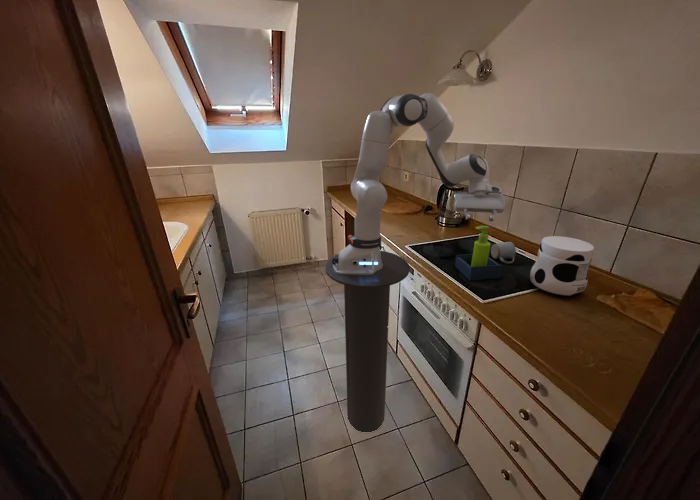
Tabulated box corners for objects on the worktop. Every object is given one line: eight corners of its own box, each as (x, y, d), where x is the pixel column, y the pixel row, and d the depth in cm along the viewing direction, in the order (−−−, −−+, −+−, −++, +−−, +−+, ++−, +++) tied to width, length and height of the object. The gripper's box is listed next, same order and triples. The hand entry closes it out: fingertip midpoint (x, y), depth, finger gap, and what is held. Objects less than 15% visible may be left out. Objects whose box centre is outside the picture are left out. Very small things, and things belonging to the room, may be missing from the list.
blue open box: (469, 280, 117) (471, 267, 115) (454, 266, 129) (456, 254, 127) (500, 278, 119) (502, 265, 117) (482, 264, 131) (484, 252, 129)
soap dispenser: (465, 269, 126) (471, 224, 118) (479, 268, 127) (487, 223, 120) (473, 276, 121) (480, 229, 113) (488, 274, 122) (496, 227, 114)
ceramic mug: (488, 255, 140) (491, 240, 136) (504, 254, 140) (507, 239, 137) (501, 265, 130) (504, 249, 127) (518, 264, 131) (522, 248, 128)
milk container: (528, 273, 122) (538, 232, 115) (580, 283, 114) (594, 239, 107) (527, 292, 108) (538, 246, 101) (586, 305, 100) (602, 256, 93)
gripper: (455, 187, 130) (454, 215, 125) (506, 188, 126) (507, 217, 121) (453, 195, 136) (452, 222, 131) (501, 197, 132) (503, 224, 126)
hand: (479, 220), depth 126 cm, fingers open, 8 cm apart
